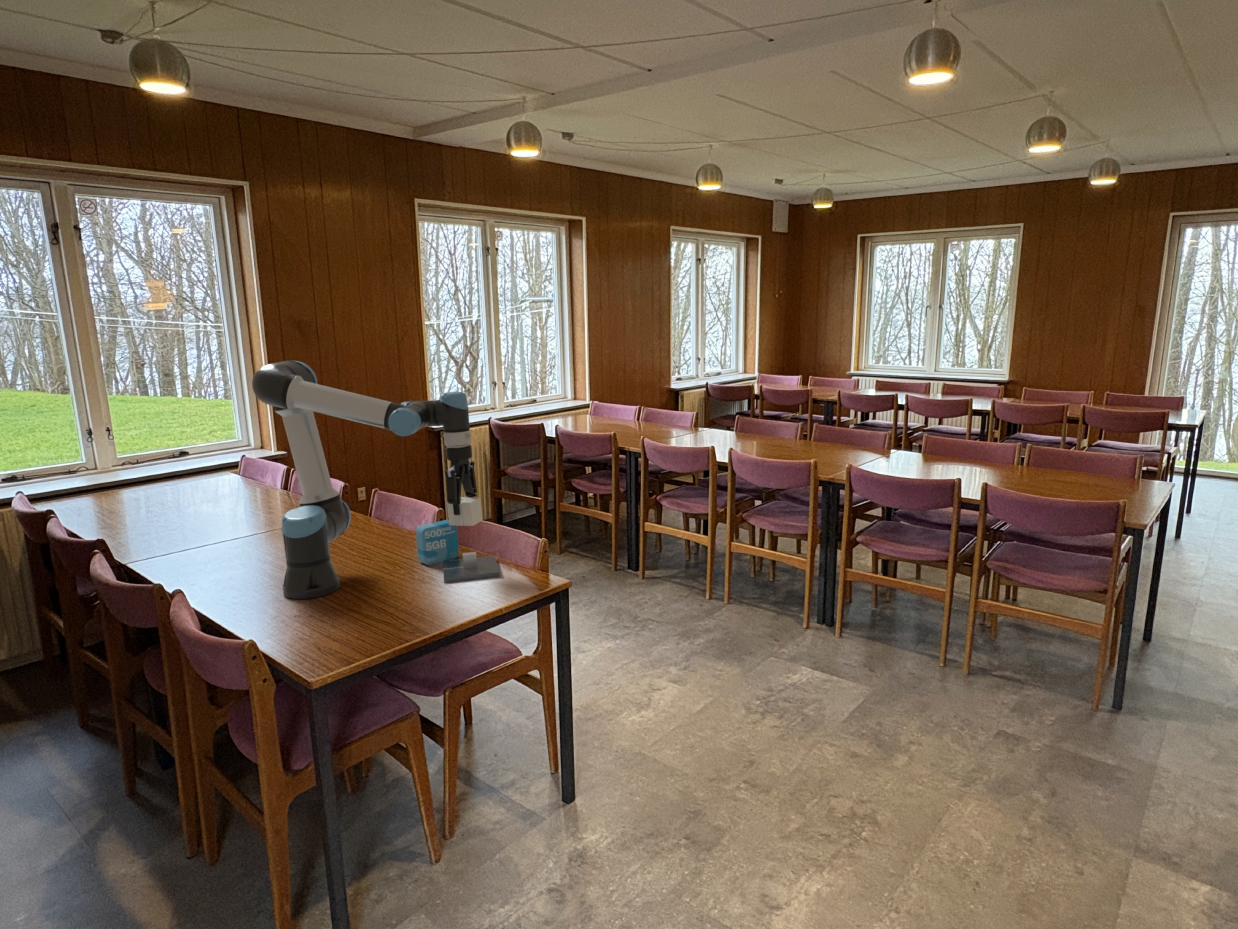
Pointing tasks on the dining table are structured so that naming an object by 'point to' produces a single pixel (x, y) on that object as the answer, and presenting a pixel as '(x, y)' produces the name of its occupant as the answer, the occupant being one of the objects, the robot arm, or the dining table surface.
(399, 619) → the dining table surface
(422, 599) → the dining table surface
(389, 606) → the dining table surface
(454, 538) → the data package
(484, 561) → the plate
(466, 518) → the white box
